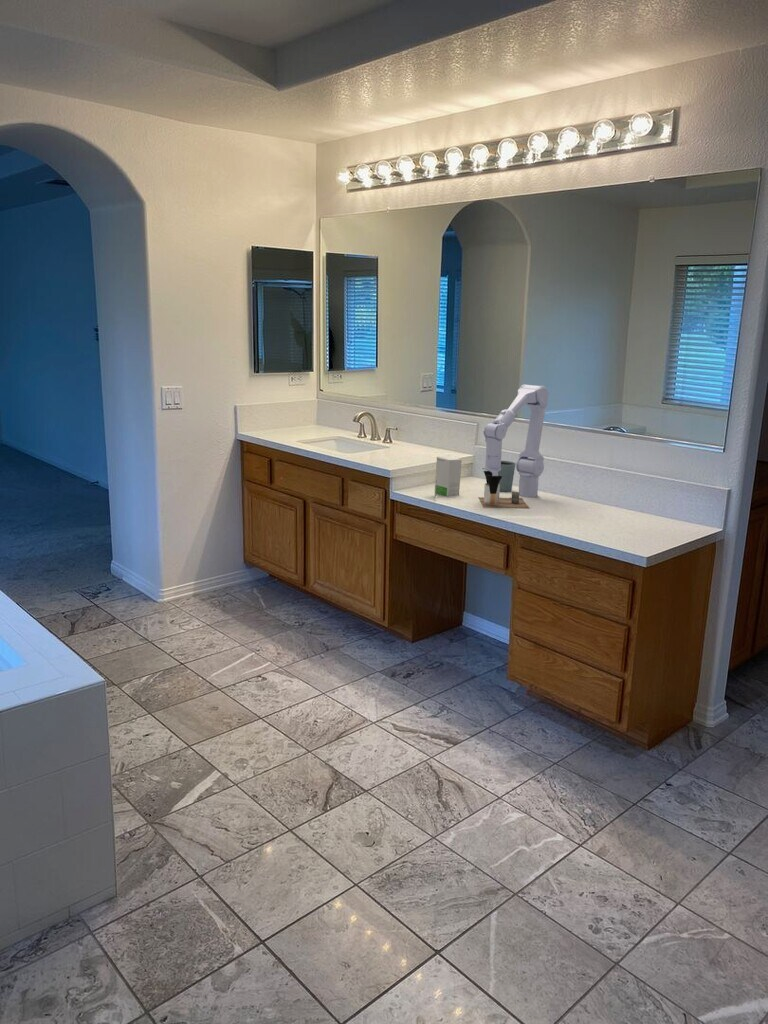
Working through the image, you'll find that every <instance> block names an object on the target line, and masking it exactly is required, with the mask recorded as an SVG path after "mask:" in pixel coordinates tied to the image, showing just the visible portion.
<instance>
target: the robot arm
mask: <svg viewBox="0 0 768 1024" xmlns="http://www.w3.org/2000/svg"><path fill="white" fill-rule="evenodd" d="M548 397H549V391H548V389H547V387H546V386H545V385H532V384H526V383H525V384H522V385H521V386H520V387H519V388H518V389H517V395H516V397H515V398H514V399H513V401H512V402H511V404H510V406H509V407H508V408H507V409H506V408H505V409H502V410H501V411H500V413H499V414H498V415H497V416H496V417H495V418H494V420H493V421H492V422H491V423H487V424H486V426H485V427H484V430H483V436H484V438H485V439H484V442H485V445H486V446H485V447H486V448H485V463H484V464H485V466H482V467H481V469H482V470H483V474H484V476H485V480H486V482H485V483H489V489H490V494H496V492H497V488H498V484H499V482H500V480H501V478H502V476H498V473H499V471H500V470H501V461H502V451H503V449H502V448H503V447H502V446H503V439H505V437H506V435H507V431H508V429H509V428H510V427H511V425H512V424H513V422H514V421H515V420H516V415H517V413H519V411H521V410H522V409H523V407H525V405H526V406H528V408H530V416H529V423H528V428H527V433H526V435H527V436H526V440H525V441H526V442H525V446H524V448H525V449H524V450H523V451H521V452H520V453H519V455H518V458H517V461H516V462H515V464H516V465H515V470H516V471H517V472H518V475H519V480H518V492H519V497H520V496H521V497H525V498H526V497H527V498H534V497H535V498H536V497H538V498H540V496H539V491H538V490H539V479H540V477H541V475H542V473H543V472H544V468H545V462H544V459H545V457H544V456H543V454H541V452H540V445H541V438H542V433H543V426H544V420H545V415H546V408H547V405H548V399H549V398H548Z"/></svg>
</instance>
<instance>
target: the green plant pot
mask: <svg viewBox="0 0 768 1024" xmlns="http://www.w3.org/2000/svg"><path fill="white" fill-rule="evenodd" d="M515 470H516V462H513V461H508V460H501V470H500V471H499V473H498V476H502V478H501V480H500V482H499V484H500V493H512V492H513V490H512V489H513V482H514V475H515Z"/></svg>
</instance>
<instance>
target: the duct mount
mask: <svg viewBox="0 0 768 1024" xmlns="http://www.w3.org/2000/svg"><path fill="white" fill-rule="evenodd" d="M478 500H479V503H480V505H481V506H482V507H483V509H522V510H524V509H531V508H530V506H529V505H528V504H527V502H526V501H525V500H524V499H523V498H522V497H520V495H519V491H511V497H499V503H498V504H486V503H484V496H482V497H481V496H479V497H478Z"/></svg>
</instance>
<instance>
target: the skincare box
mask: <svg viewBox="0 0 768 1024" xmlns="http://www.w3.org/2000/svg"><path fill="white" fill-rule="evenodd" d="M462 461H463V459H462V458H458V457H456V456H453V455H452V456H451V455H441V456H436V463H435V464H436V465H435V466H436V467H435V479H434V480H435V481H434V496H437V495H440V496H445V497H454V496H459V495H460V487H461V485H460V484H461V473H462V472H461V471H462Z"/></svg>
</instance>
